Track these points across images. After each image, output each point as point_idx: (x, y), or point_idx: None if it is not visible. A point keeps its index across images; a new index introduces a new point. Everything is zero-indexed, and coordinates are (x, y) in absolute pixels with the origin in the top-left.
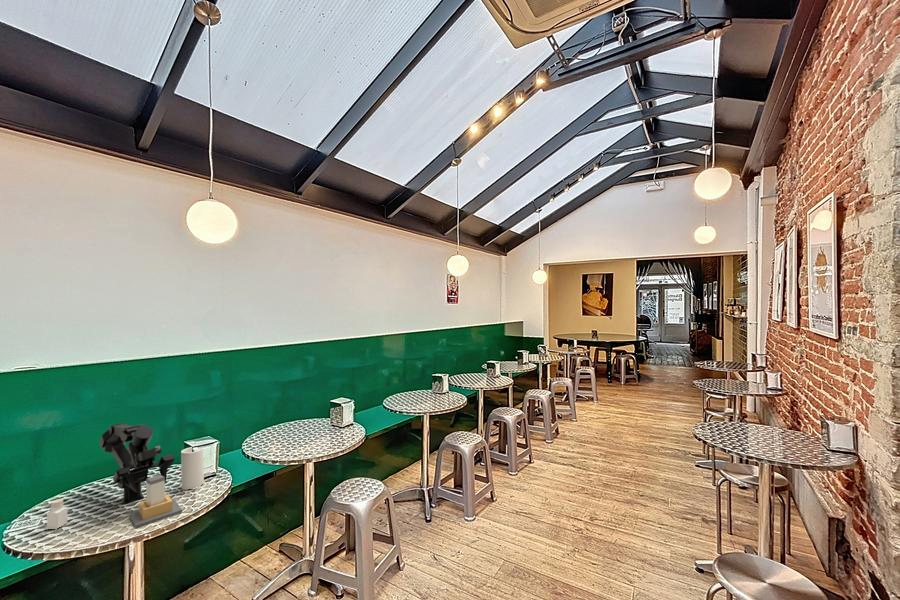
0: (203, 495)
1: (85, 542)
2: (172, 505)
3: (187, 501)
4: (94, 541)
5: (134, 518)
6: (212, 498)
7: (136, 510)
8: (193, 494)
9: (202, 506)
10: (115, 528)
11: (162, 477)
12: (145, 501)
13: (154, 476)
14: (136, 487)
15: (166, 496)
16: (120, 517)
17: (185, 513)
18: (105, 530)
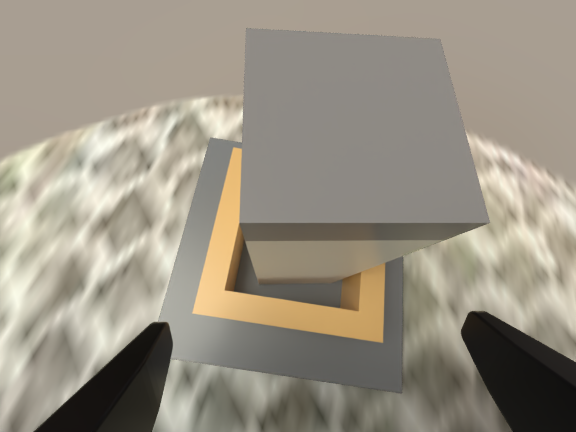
0: (25, 252)
1: (566, 235)
2: (210, 238)
3: (123, 255)
4: (535, 210)
5: (394, 259)
6: (41, 163)
7: (365, 379)
8: (33, 337)
9: (130, 121)
10: (464, 263)
11: (275, 35)
12: (346, 314)
13: (347, 209)
14: (514, 338)
15: (219, 262)
16: (435, 402)
17: (211, 123)
18: (502, 285)
